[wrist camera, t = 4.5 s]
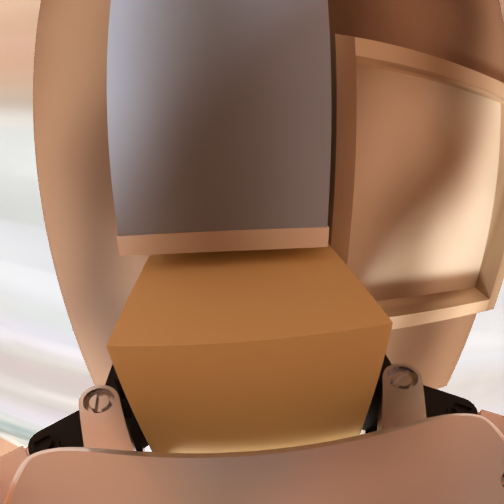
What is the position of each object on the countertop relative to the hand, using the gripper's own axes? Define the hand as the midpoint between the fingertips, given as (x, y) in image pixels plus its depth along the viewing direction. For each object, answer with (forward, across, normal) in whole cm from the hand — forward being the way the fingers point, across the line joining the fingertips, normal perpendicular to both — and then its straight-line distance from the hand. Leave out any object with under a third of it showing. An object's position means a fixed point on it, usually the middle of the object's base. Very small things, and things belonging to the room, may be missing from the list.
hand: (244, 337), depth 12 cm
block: (+2, 0, 0) cm, 2 cm away
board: (+3, -3, -5) cm, 7 cm away
